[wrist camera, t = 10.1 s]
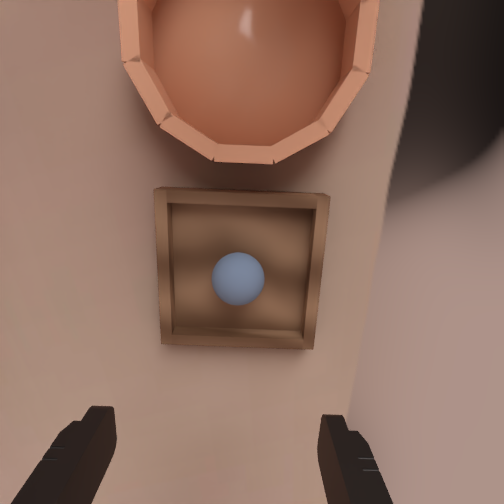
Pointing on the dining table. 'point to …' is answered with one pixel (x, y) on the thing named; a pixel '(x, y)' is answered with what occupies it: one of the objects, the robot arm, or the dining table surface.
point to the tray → (244, 241)
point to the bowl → (248, 70)
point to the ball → (238, 278)
